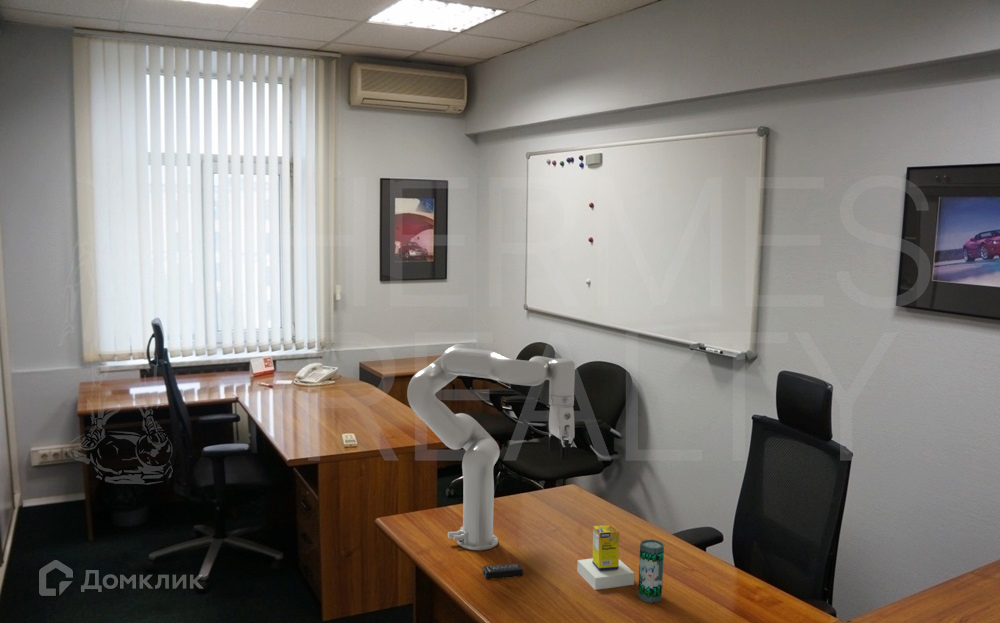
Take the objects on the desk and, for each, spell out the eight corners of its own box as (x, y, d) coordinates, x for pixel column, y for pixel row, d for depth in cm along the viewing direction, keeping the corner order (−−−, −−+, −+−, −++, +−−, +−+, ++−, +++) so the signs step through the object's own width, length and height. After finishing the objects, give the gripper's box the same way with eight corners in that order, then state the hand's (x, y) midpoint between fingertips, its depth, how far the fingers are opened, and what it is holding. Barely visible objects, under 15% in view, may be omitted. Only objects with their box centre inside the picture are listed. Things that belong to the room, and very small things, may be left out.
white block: (594, 592, 211) (595, 578, 211) (577, 573, 223) (577, 560, 222) (633, 586, 215) (634, 572, 215) (614, 568, 226) (614, 555, 226)
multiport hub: (523, 577, 219) (523, 569, 219) (485, 580, 216) (486, 572, 216) (519, 570, 223) (519, 562, 223) (482, 573, 220) (482, 566, 220)
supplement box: (619, 569, 216) (619, 531, 215) (598, 571, 215) (599, 532, 214) (611, 561, 222) (612, 524, 221) (592, 563, 221) (592, 525, 220)
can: (636, 600, 206) (638, 546, 204) (640, 590, 211) (642, 538, 210) (659, 604, 204) (662, 550, 202) (662, 594, 209) (665, 541, 208)
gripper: (584, 405, 225) (582, 462, 226) (562, 393, 241) (560, 446, 243) (560, 406, 222) (559, 464, 224) (539, 394, 239) (538, 448, 241)
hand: (559, 454), depth 233 cm, fingers open, 9 cm apart
